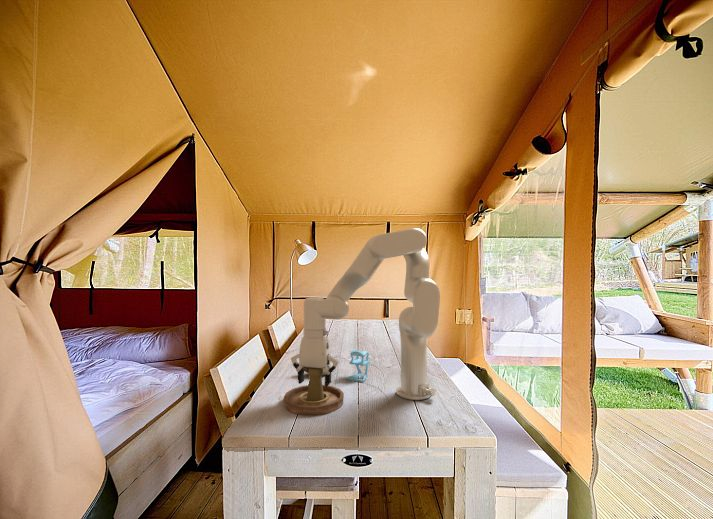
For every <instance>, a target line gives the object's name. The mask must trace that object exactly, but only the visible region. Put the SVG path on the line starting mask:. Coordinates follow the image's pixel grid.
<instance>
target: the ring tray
mask: <svg viewBox="0 0 713 519" xmlns="http://www.w3.org/2000/svg"><path fill="white" fill-rule="evenodd" d="M308 385H309V384H308ZM308 385H307V384H306V385H301V386H298V387H294V388H292V389H290V390H289V391H287V392H285V394H284V396H283V404H284V405H283V406H284V408H285V410H286V411H288V412H290V413H293V414H296V415H300V416H319V415H326V414H329V413H330V414H331V413H332V412H335V411H337V410H338V409H340V408H341V407H342V406H343V405H344V392H343V390H341V389H340V388H338V387H335V386H333V385H328V386H327V387H326V386H325V384H322V385H323V393H324V399H323V400H320V401H313V402H312V401H307V393H308Z"/></svg>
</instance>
